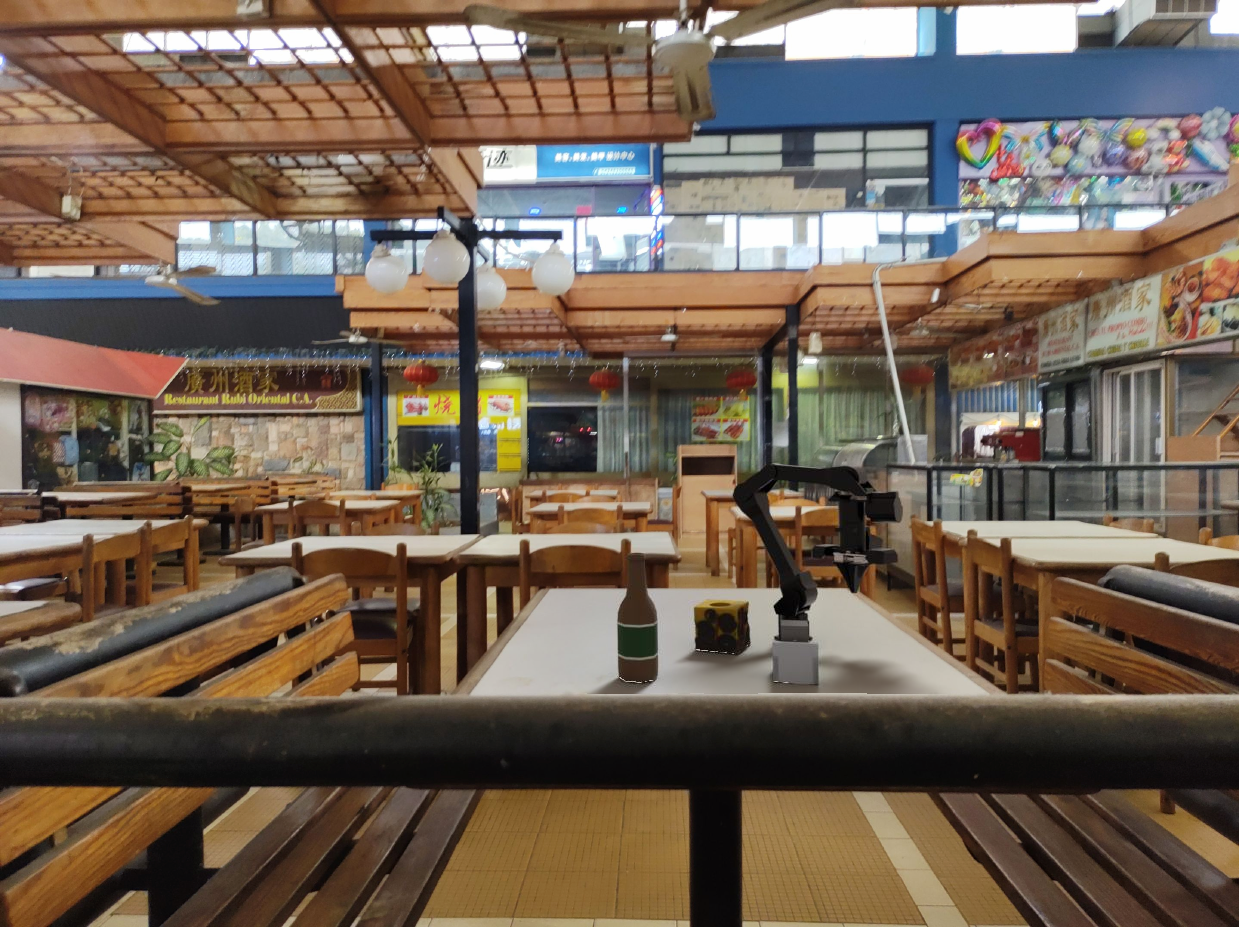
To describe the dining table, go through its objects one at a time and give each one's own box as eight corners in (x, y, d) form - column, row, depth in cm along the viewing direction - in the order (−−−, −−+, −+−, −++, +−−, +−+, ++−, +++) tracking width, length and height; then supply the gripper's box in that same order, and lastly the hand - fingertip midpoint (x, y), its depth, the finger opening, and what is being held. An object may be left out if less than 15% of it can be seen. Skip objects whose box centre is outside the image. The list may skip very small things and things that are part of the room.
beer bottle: (616, 673, 142) (614, 551, 142) (655, 671, 142) (653, 550, 142) (619, 685, 134) (617, 556, 134) (661, 683, 134) (659, 555, 135)
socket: (773, 669, 143) (773, 630, 143) (816, 670, 141) (815, 631, 141) (773, 682, 134) (772, 641, 134) (818, 684, 132) (818, 642, 132)
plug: (782, 670, 141) (781, 620, 141) (808, 672, 140) (807, 620, 140) (782, 680, 135) (781, 626, 135) (809, 681, 134) (808, 627, 134)
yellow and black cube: (751, 645, 163) (750, 601, 163) (739, 655, 154) (738, 609, 154) (708, 641, 167) (707, 598, 167) (693, 651, 158) (693, 606, 158)
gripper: (911, 521, 156) (913, 593, 155) (839, 518, 171) (841, 584, 171) (880, 524, 149) (883, 600, 149) (809, 521, 164) (811, 589, 164)
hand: (854, 593), depth 158 cm, fingers closed
